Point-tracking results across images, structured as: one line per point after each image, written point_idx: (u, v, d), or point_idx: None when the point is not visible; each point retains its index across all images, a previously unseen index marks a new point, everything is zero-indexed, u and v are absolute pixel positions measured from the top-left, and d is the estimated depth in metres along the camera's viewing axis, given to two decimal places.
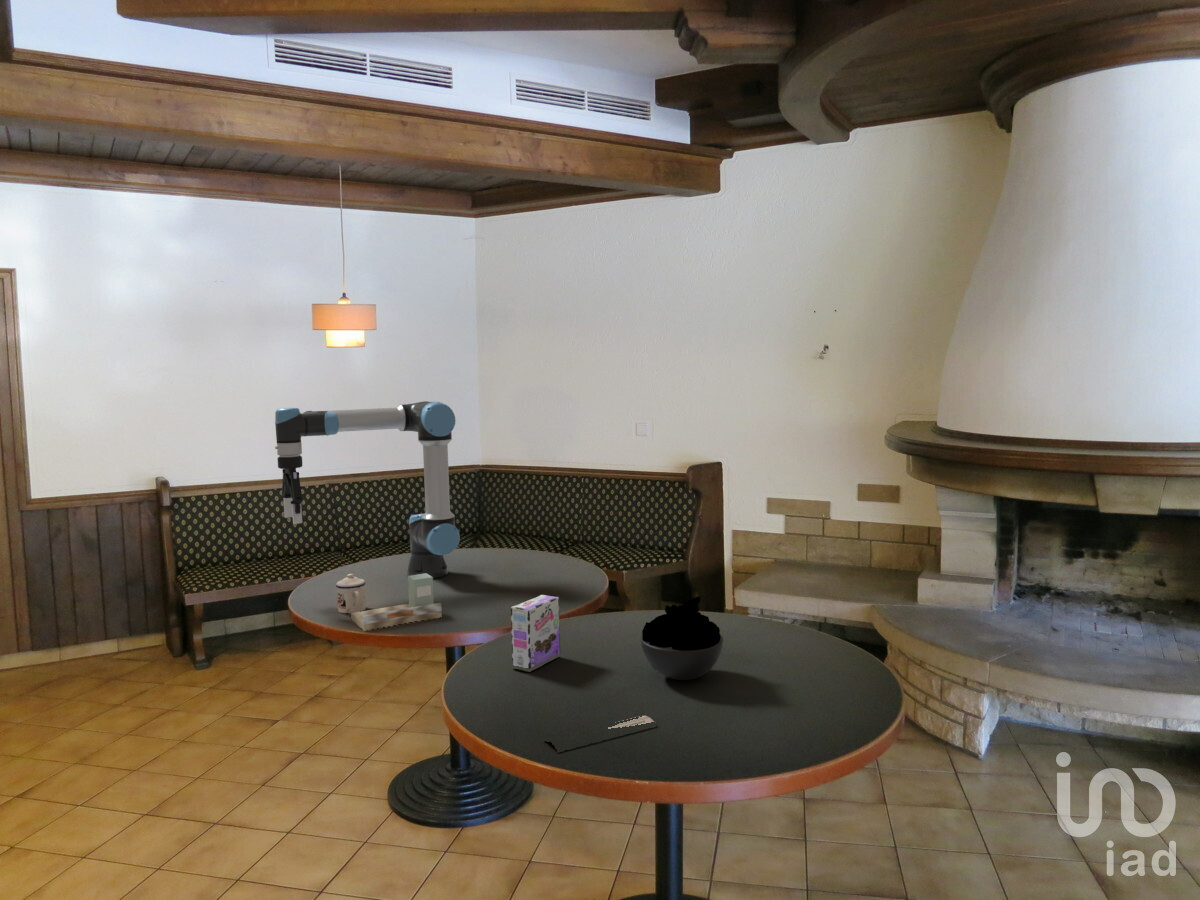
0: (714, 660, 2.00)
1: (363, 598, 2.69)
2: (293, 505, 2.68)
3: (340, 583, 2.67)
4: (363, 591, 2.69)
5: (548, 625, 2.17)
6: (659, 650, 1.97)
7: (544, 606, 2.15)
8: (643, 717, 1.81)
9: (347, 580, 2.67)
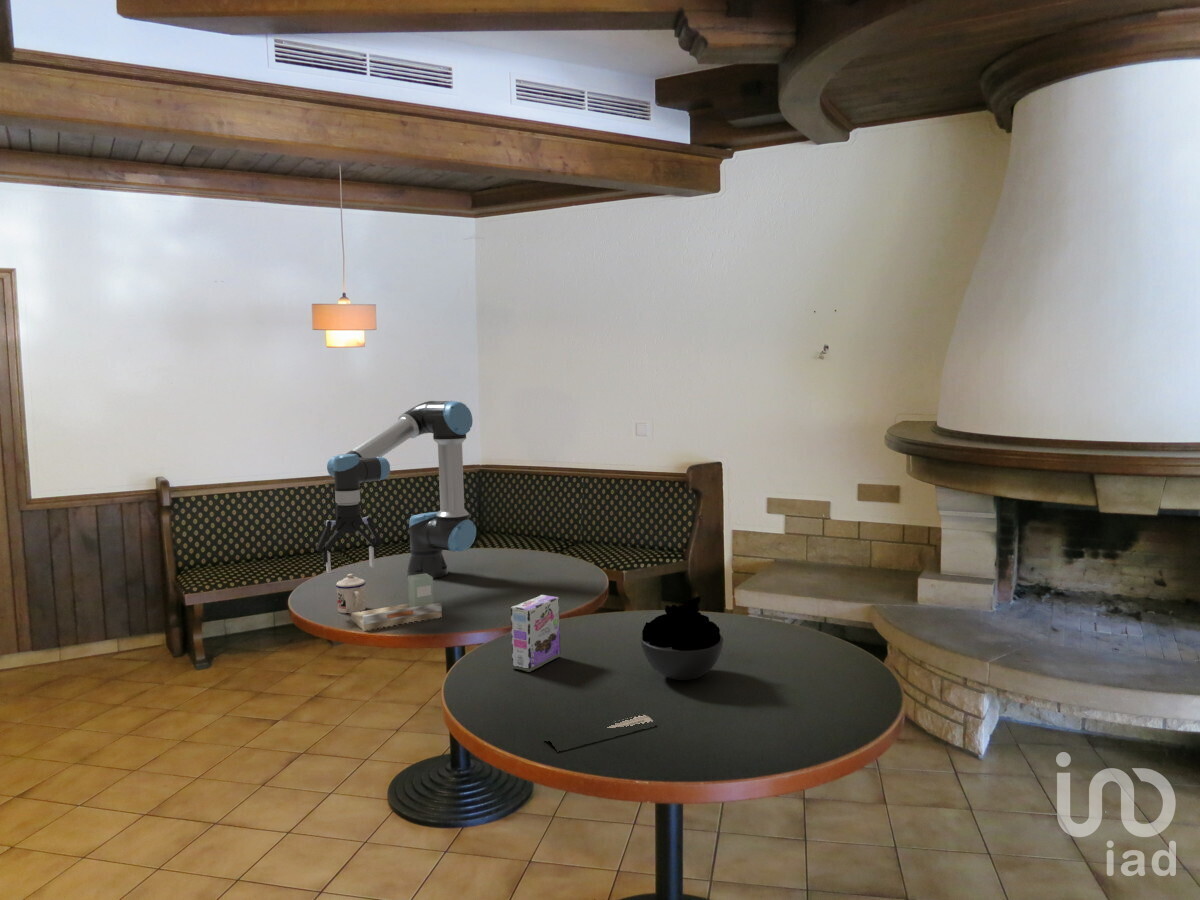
0: (714, 660, 2.00)
1: (363, 598, 2.69)
2: None
3: (340, 583, 2.67)
4: (363, 591, 2.69)
5: (548, 625, 2.17)
6: (659, 650, 1.97)
7: (544, 606, 2.15)
8: (642, 716, 1.81)
9: (347, 580, 2.67)
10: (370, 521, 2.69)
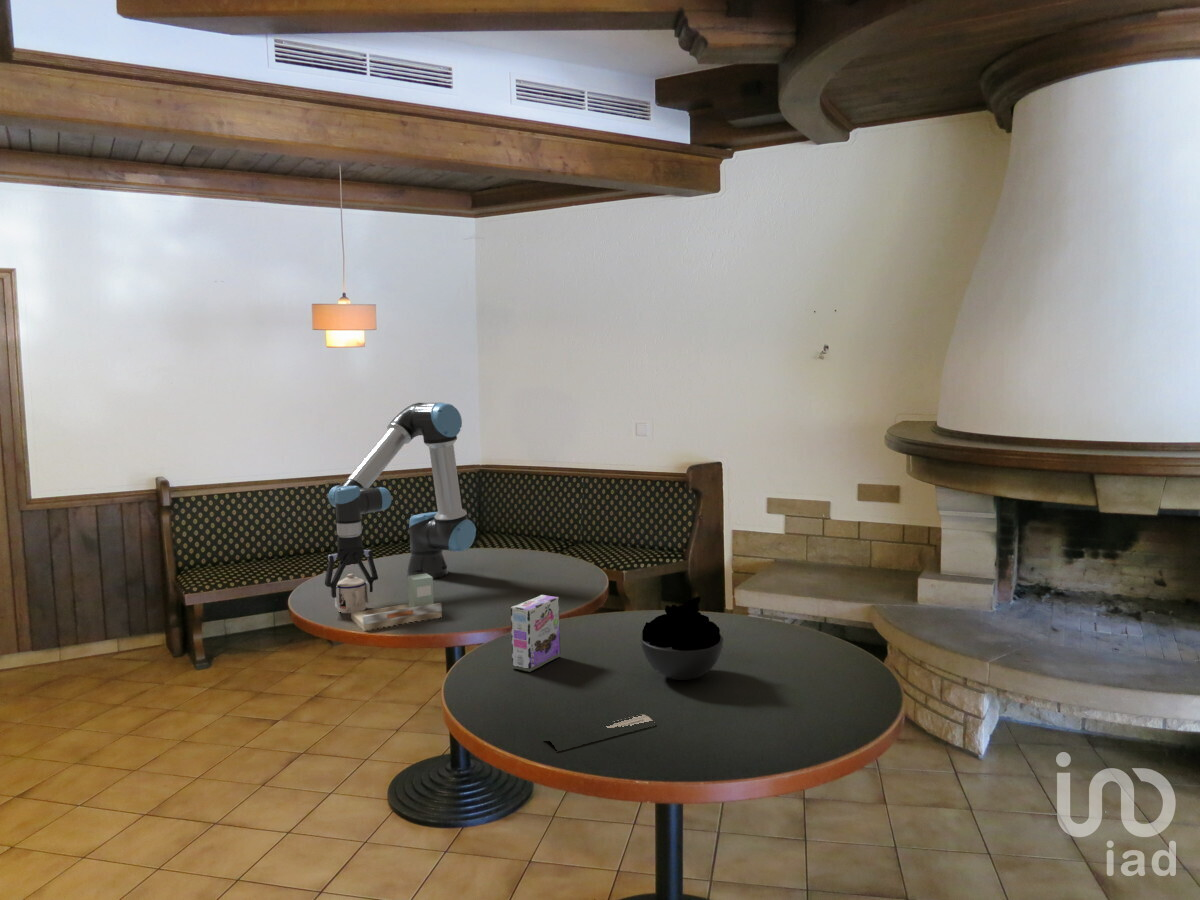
0: (714, 660, 2.00)
1: (363, 598, 2.69)
2: None
3: (340, 583, 2.67)
4: (363, 591, 2.69)
5: (548, 625, 2.17)
6: (659, 650, 1.97)
7: (544, 606, 2.15)
8: (641, 716, 1.82)
9: (347, 580, 2.67)
10: (371, 555, 2.70)
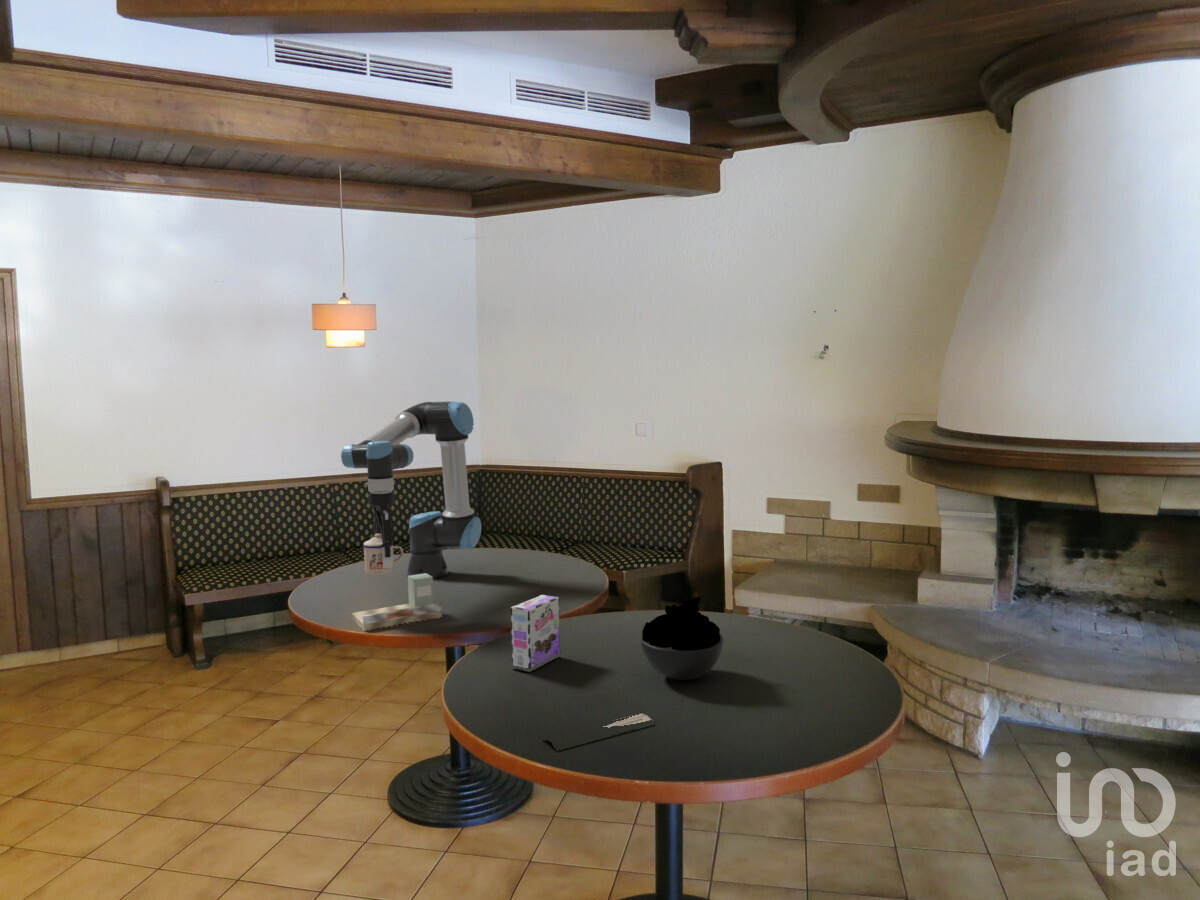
0: (714, 660, 2.00)
1: None
2: (383, 548, 2.54)
3: None
4: None
5: (548, 625, 2.17)
6: (659, 650, 1.97)
7: (544, 606, 2.15)
8: (640, 715, 1.82)
9: None
10: None
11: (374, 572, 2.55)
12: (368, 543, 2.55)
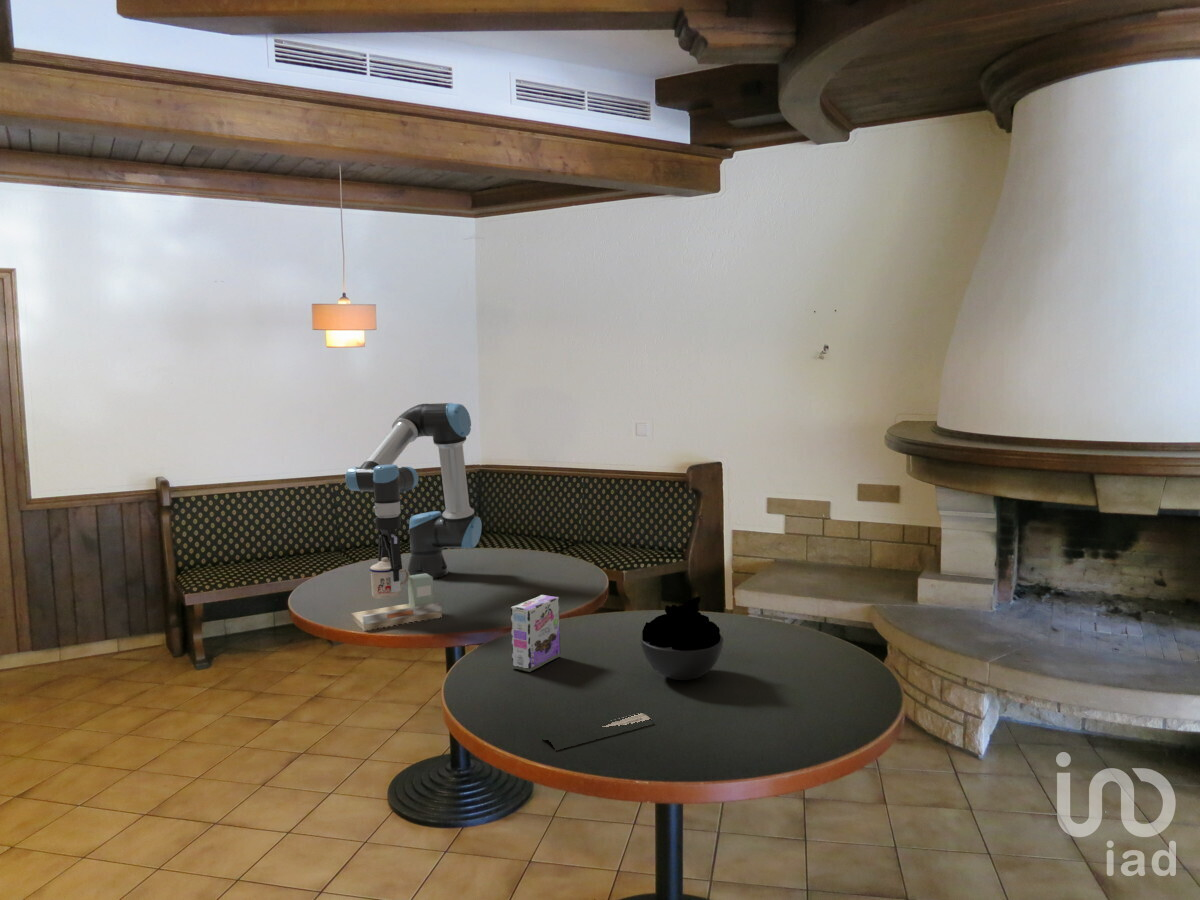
0: (714, 660, 2.00)
1: None
2: (391, 572, 2.54)
3: None
4: None
5: (548, 625, 2.17)
6: (659, 650, 1.97)
7: (544, 606, 2.15)
8: (639, 715, 1.82)
9: None
10: None
11: (382, 596, 2.55)
12: (376, 567, 2.55)
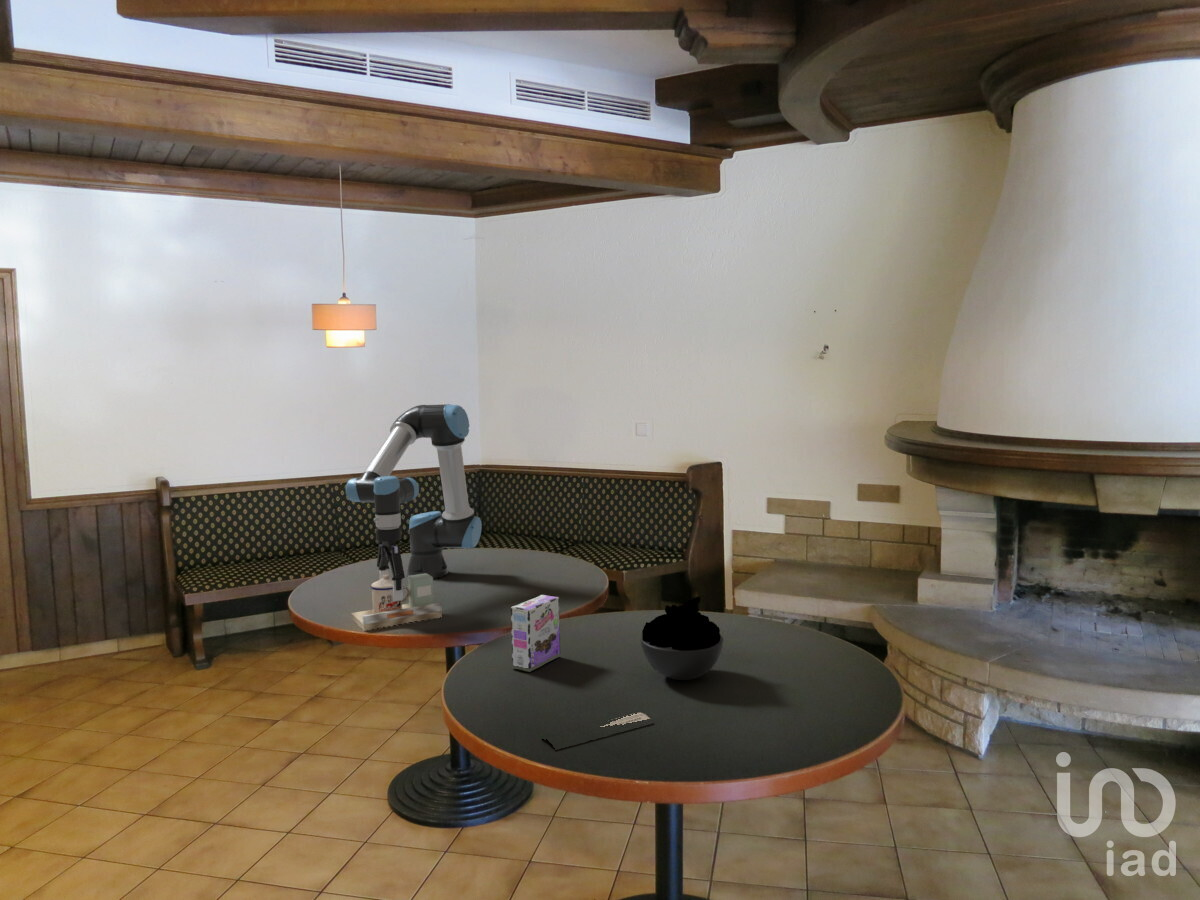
0: (714, 660, 2.00)
1: None
2: (394, 581, 2.53)
3: (392, 584, 2.56)
4: None
5: (548, 625, 2.17)
6: (659, 650, 1.97)
7: (544, 606, 2.15)
8: (639, 714, 1.83)
9: None
10: None
11: None
12: (377, 585, 2.56)
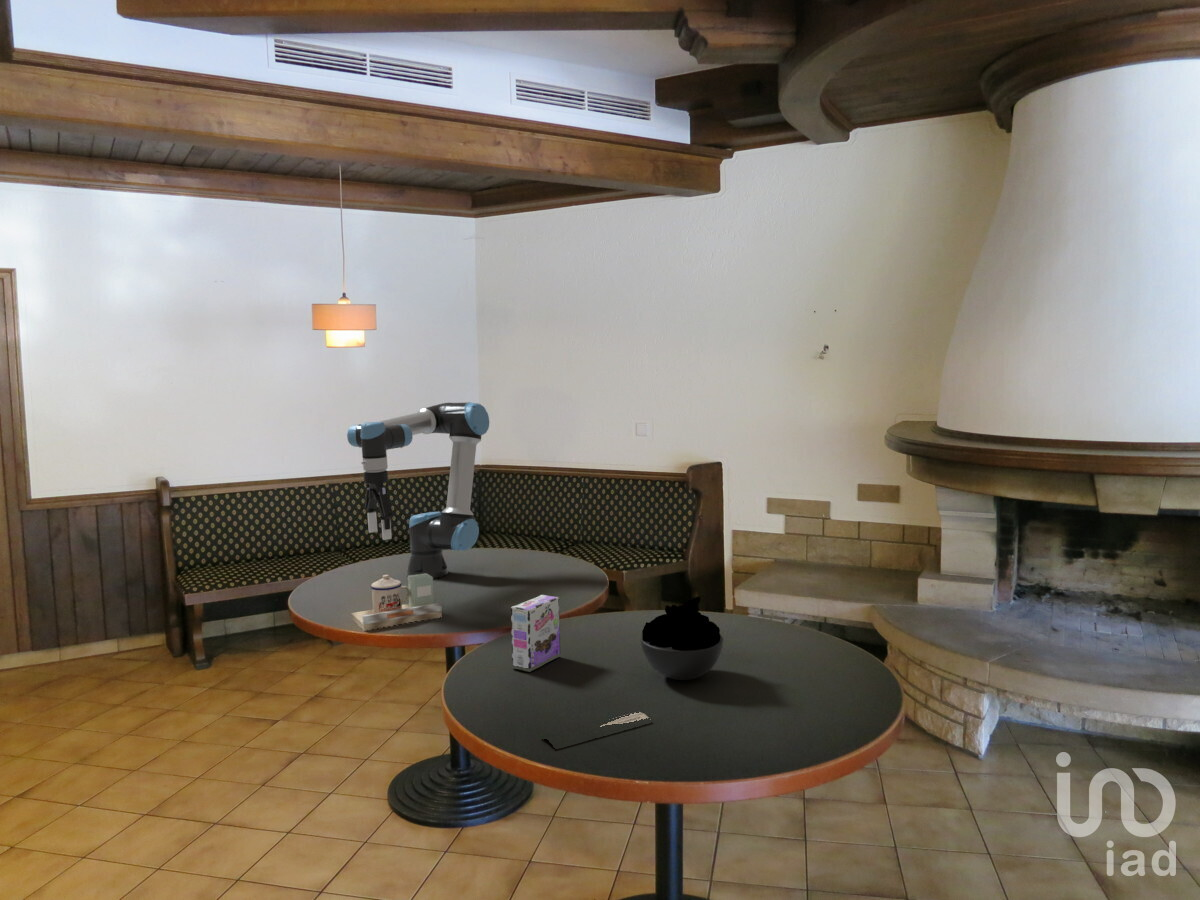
0: (714, 660, 2.00)
1: None
2: (383, 521, 2.65)
3: (392, 584, 2.56)
4: None
5: (548, 625, 2.17)
6: (659, 650, 1.97)
7: (544, 606, 2.15)
8: (638, 713, 1.83)
9: (392, 580, 2.58)
10: None
11: None
12: (377, 585, 2.56)
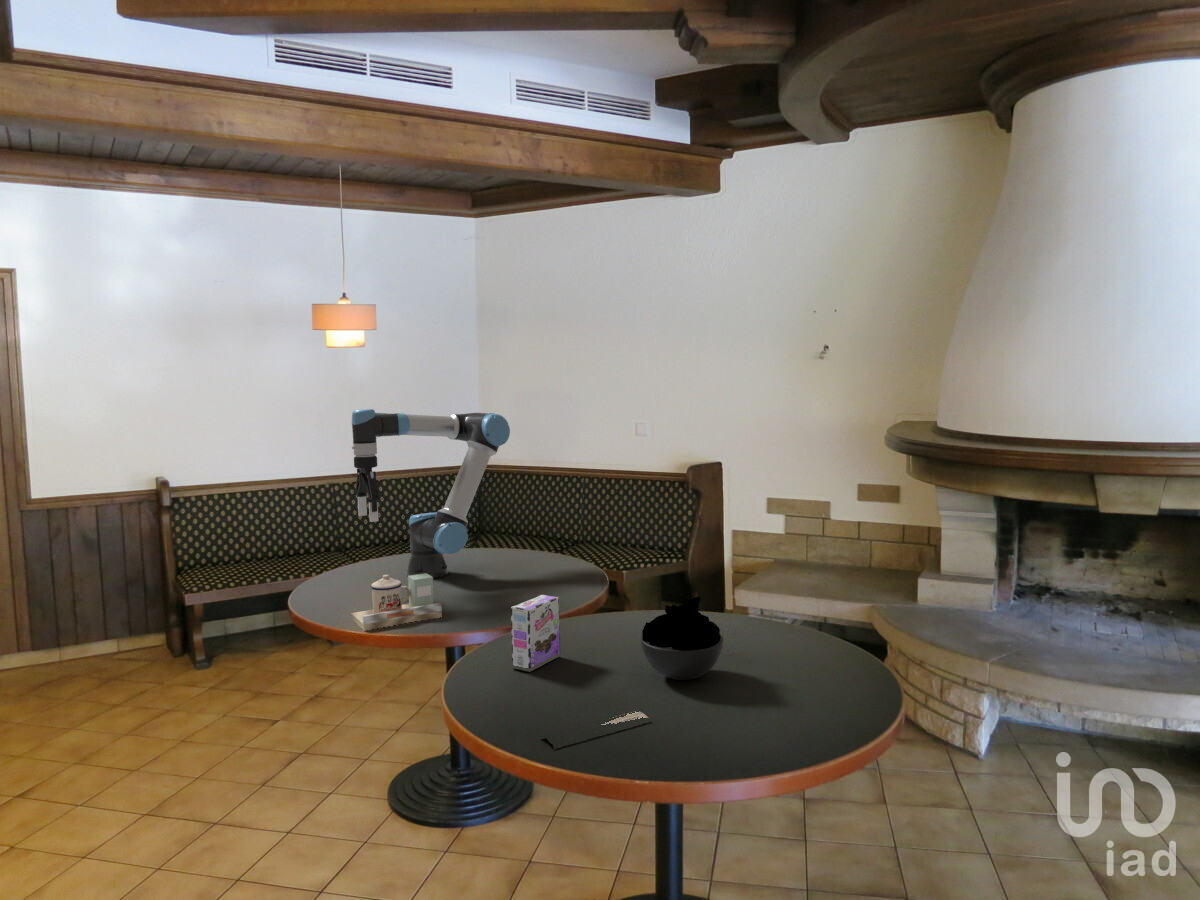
0: (714, 660, 2.00)
1: None
2: (370, 504, 2.76)
3: (392, 584, 2.56)
4: None
5: (548, 625, 2.17)
6: (659, 650, 1.97)
7: (544, 606, 2.15)
8: (636, 713, 1.83)
9: (392, 580, 2.58)
10: None
11: None
12: (377, 585, 2.56)
